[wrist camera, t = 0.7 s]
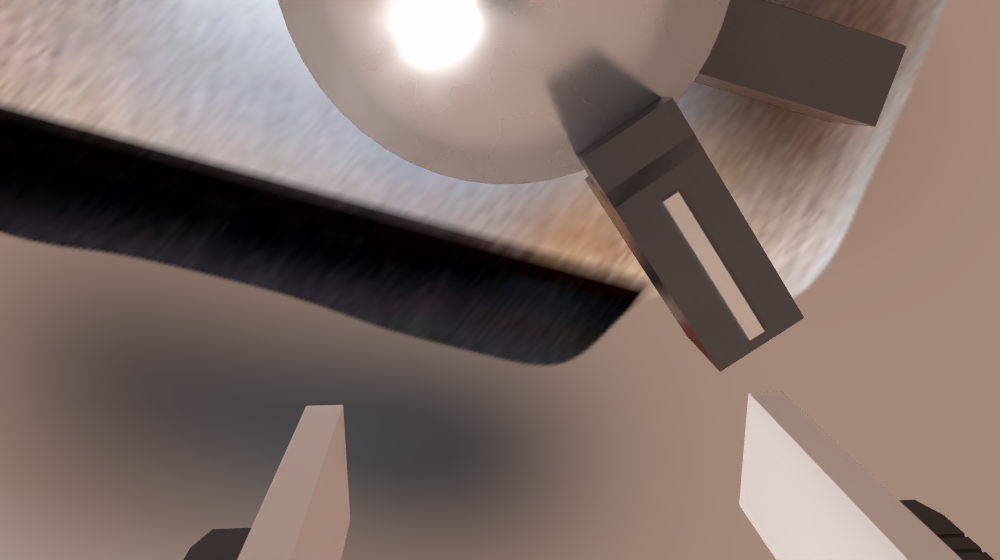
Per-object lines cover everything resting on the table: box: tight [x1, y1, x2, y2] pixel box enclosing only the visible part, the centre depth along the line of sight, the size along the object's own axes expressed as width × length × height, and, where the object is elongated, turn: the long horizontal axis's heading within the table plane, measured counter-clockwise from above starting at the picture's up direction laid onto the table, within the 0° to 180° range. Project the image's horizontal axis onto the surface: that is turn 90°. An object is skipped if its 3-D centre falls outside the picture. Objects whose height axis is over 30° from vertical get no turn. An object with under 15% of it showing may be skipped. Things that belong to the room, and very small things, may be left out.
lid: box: [278, 0, 804, 371], centre depth 26 cm, size 15×24×5 cm, turn 34°
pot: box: [694, 0, 906, 127], centre depth 31 cm, size 14×23×8 cm, turn 74°
